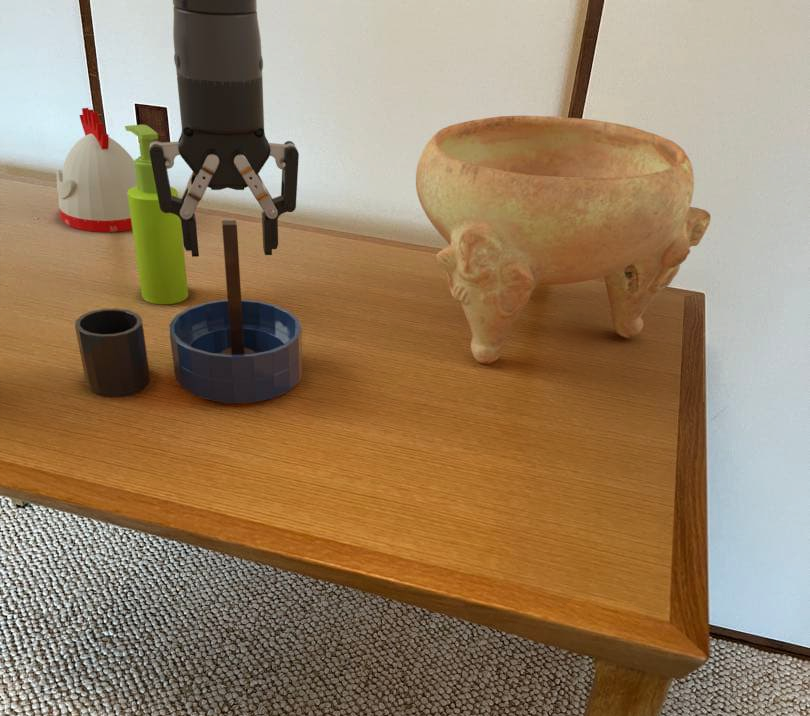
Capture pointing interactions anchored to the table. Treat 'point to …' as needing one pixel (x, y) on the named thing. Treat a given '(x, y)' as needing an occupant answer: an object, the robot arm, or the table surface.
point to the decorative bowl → (555, 215)
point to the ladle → (233, 289)
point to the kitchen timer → (96, 181)
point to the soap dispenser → (155, 232)
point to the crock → (113, 352)
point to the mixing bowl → (236, 374)
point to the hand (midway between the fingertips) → (231, 252)
